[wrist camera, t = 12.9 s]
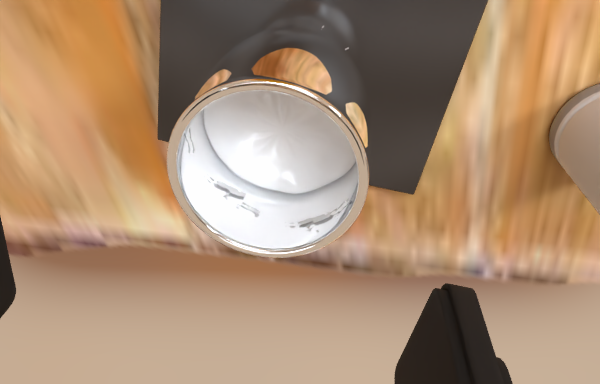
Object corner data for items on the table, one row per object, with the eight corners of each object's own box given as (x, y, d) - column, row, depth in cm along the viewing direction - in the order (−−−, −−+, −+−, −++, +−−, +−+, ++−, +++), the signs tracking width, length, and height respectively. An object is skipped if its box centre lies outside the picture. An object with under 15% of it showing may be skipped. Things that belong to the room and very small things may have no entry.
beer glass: (342, 122, 30) (331, 286, 17) (238, 87, 29) (146, 228, 16) (386, 14, 26) (413, 119, 13) (267, -29, 25) (178, 37, 13)
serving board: (173, -142, 24) (163, -145, 23) (505, -68, 25) (513, -66, 23) (164, 130, 33) (157, 140, 32) (411, 184, 33) (413, 195, 32)
